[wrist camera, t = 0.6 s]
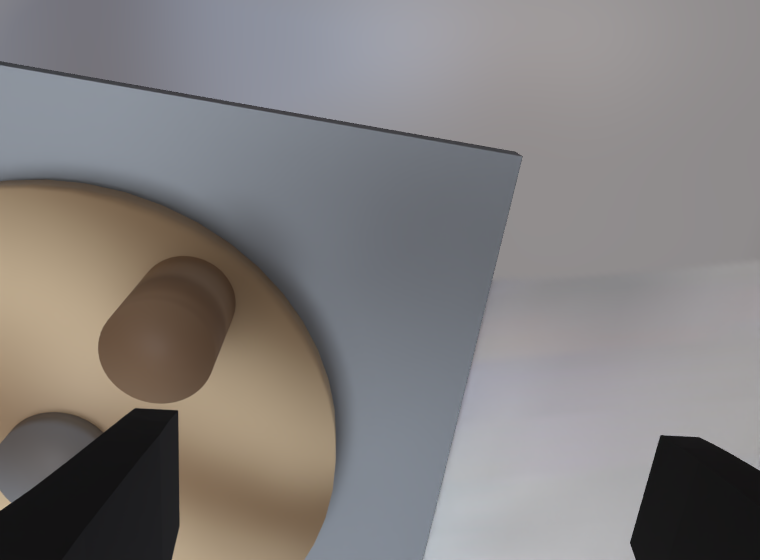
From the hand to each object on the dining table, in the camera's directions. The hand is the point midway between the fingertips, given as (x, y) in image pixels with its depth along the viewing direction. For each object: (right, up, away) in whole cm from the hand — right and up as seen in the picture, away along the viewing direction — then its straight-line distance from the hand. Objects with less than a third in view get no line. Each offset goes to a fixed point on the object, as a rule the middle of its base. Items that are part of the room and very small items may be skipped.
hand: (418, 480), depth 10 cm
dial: (-10, -2, +9) cm, 14 cm away
